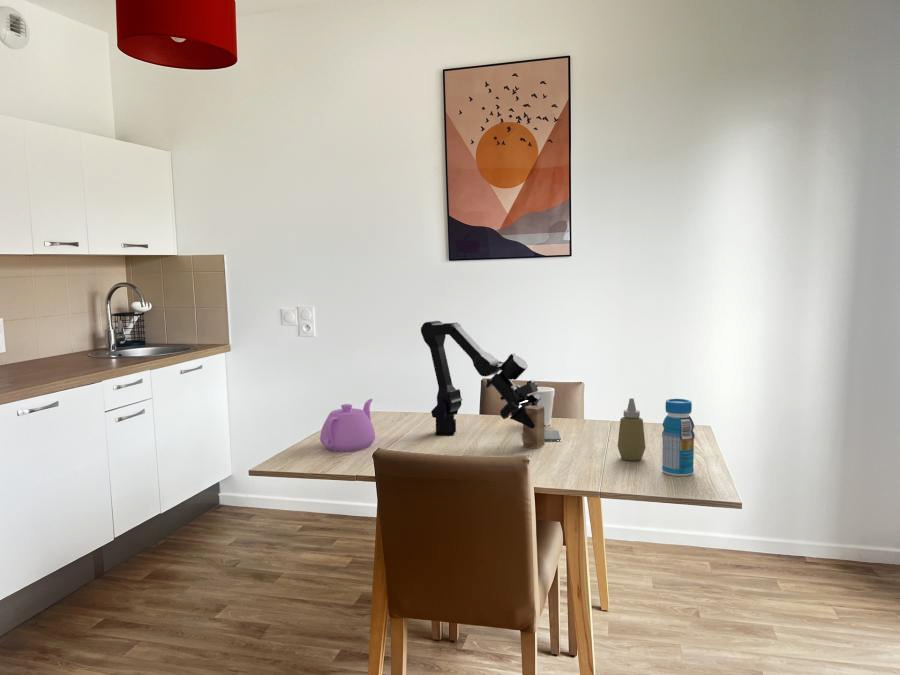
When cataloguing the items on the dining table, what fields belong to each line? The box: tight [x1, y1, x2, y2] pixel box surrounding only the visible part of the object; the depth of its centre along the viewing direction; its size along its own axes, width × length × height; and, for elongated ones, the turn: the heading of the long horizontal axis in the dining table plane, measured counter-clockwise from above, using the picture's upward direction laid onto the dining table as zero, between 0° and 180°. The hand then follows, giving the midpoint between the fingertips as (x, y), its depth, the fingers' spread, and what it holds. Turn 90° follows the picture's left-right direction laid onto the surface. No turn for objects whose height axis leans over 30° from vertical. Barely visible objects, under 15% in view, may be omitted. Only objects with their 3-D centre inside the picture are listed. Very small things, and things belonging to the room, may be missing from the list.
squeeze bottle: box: [617, 397, 646, 462], centre depth 203 cm, size 8×8×18 cm
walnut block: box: [522, 405, 545, 449], centre depth 220 cm, size 5×5×12 cm
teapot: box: [319, 398, 376, 452], centre depth 226 cm, size 25×18×14 cm
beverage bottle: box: [661, 398, 696, 477], centre depth 188 cm, size 8×8×20 cm
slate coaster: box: [544, 429, 562, 442], centre depth 232 cm, size 12×12×1 cm
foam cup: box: [528, 386, 555, 425], centre depth 250 cm, size 10×9×13 cm
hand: (537, 426), depth 219 cm, fingers closed on walnut block, 5 cm apart
